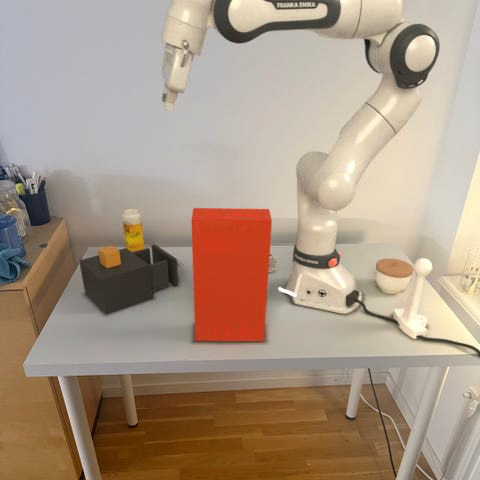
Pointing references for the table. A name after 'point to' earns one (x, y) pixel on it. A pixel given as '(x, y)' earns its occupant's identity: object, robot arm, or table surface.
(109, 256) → the block
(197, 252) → the file binder
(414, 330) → the joystick
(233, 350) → the table surface
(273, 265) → the flashlight
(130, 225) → the vitamin bottle
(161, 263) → the drawer
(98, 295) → the dark grey open box
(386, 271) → the trinket box
